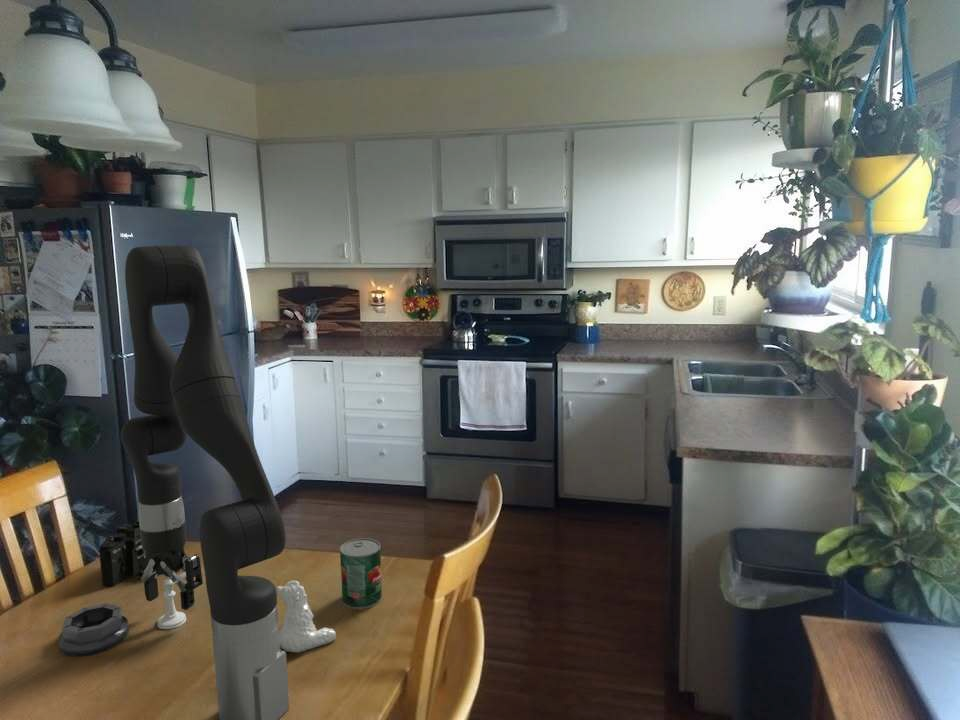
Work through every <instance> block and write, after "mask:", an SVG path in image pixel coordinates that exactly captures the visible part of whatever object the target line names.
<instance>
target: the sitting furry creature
mask: <svg viewBox="0 0 960 720" xmlns="http://www.w3.org/2000/svg"><path fill="white" fill-rule="evenodd" d="M276 593H277V596H280V600H281V601H283V604H284V605H285V606H287V608H286V610H285V611H284V614H283V616H282V617H283V623H282V624H281V627H280V629H279V642H280V649H283V651H285V652H289V653H292V654H298V653H299V654H300V653H301V652H303V653H304V652H305V651H307V650H311V649H314V648H317V647H320V646H323V645H327V644H330V643H333V642H334V640H336V638H337V634H336V631H335V630H334V628H329V627H322V628H320V629H318V630H317V628H316V625H315V624H314V622H313V619H314V614H313V613H312V610H311V609H310V606H309V604H308V595H307V594H306V591H305V588H304V585H300V582H299V581H297V580H290V581H287V583H285V585H284V586H282V585H279V586H276Z"/></svg>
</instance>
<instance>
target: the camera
mask: <svg viewBox="0 0 960 720" xmlns="http://www.w3.org/2000/svg"><path fill="white" fill-rule="evenodd" d="M140 545H142V544H141V534H140V524H139V519H138V520H137V521H136V522H133V525H132V524H127V523H126V524H122V525H120V526H119V527H117V528H116V534H114V535H109V536H108V537H107V538H106V539H105V540H104V541H102V543H101V544H99V550H98V552H99V556H100V557H99V562H100V573H101V582H102V583H101V584H102V586H104V587H108V588H109V587H111V588H113V587H115V586H116V585H118V584H119V583H120V582H122V581H123V580H125V579H126V578H127V577H129V576H131V575H134V570H133V551H132V550H133V549H134V548H136V547H138V546H140ZM140 569H142V565H141V566H140Z"/></svg>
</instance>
